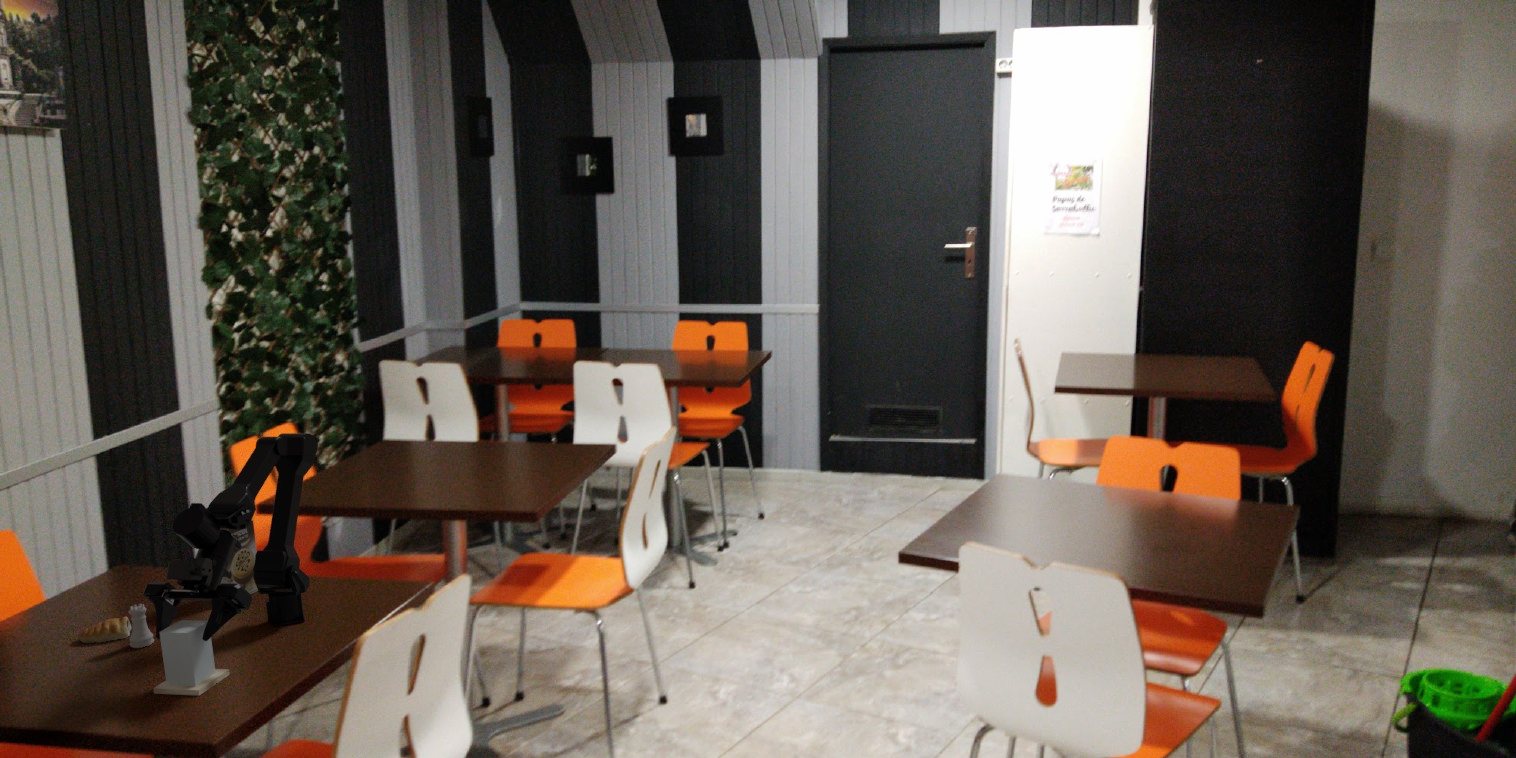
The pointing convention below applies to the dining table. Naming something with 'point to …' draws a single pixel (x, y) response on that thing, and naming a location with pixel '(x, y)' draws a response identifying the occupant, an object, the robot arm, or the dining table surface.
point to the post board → (192, 690)
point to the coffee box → (242, 560)
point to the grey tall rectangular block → (186, 653)
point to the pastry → (106, 631)
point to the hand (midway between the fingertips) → (181, 639)
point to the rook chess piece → (139, 628)
